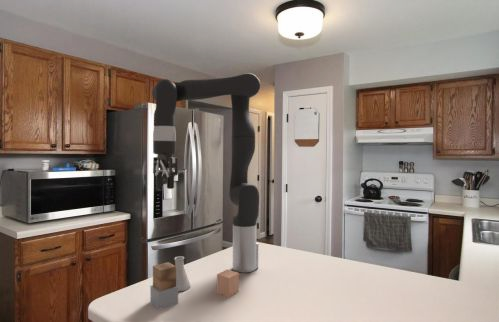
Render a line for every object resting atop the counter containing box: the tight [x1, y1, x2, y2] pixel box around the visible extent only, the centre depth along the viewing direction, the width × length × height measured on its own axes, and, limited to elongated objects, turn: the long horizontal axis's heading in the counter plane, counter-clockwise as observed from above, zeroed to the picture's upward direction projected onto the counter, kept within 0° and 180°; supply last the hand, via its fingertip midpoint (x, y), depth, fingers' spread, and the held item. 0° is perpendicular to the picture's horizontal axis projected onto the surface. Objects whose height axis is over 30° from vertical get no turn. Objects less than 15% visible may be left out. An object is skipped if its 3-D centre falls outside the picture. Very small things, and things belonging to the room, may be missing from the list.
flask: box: [174, 255, 191, 292], centre depth 103 cm, size 7×7×10 cm
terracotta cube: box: [216, 269, 240, 298], centre depth 100 cm, size 5×5×6 cm
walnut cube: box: [152, 261, 176, 291], centre depth 93 cm, size 5×5×6 cm
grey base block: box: [149, 284, 179, 310], centre depth 93 cm, size 6×6×5 cm
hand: (164, 187), depth 106 cm, fingers open, 8 cm apart
